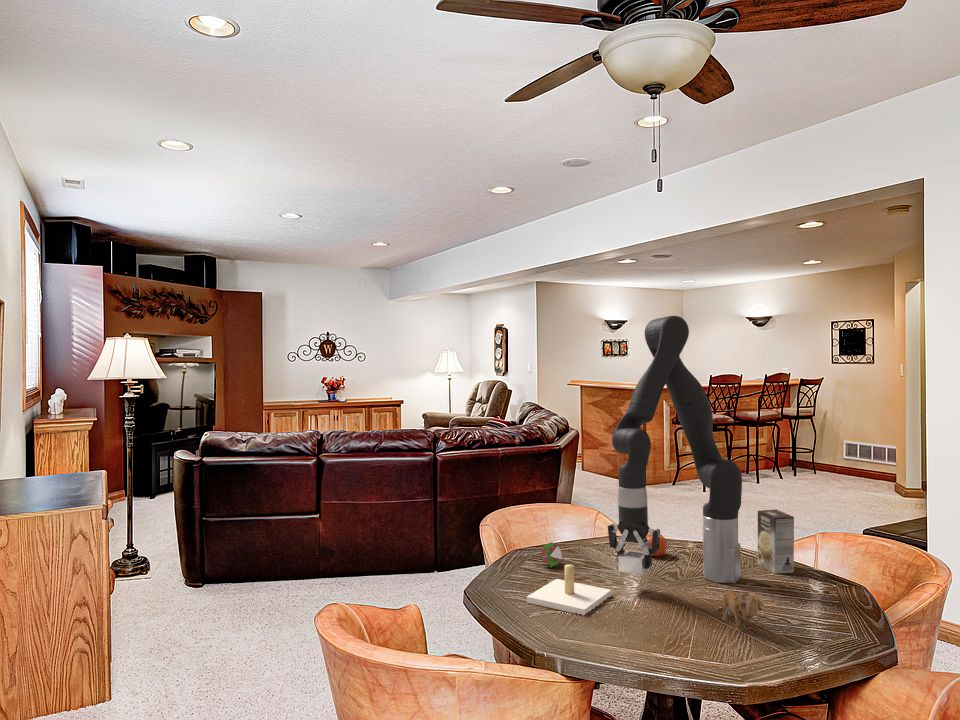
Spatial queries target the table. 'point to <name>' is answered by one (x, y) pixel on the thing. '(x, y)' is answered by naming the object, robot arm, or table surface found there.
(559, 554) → the geometric puzzle
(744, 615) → the lion figurine
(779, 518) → the coffee box
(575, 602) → the post board
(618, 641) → the table surface
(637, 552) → the steel collar
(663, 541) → the tomato
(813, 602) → the table surface
